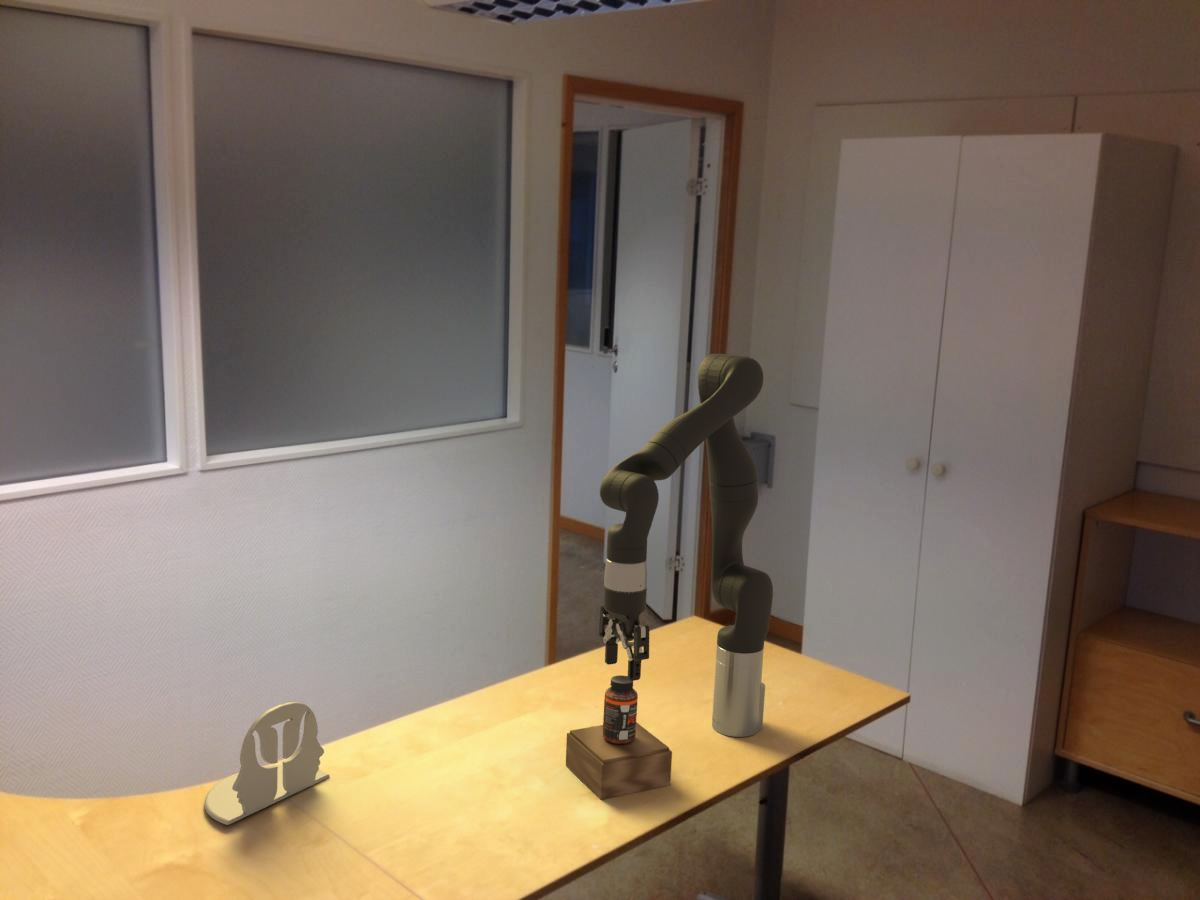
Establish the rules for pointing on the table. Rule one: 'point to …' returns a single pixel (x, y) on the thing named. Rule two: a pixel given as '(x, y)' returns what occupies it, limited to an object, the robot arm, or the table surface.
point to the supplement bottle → (620, 711)
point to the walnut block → (618, 762)
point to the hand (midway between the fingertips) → (622, 671)
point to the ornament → (275, 781)
